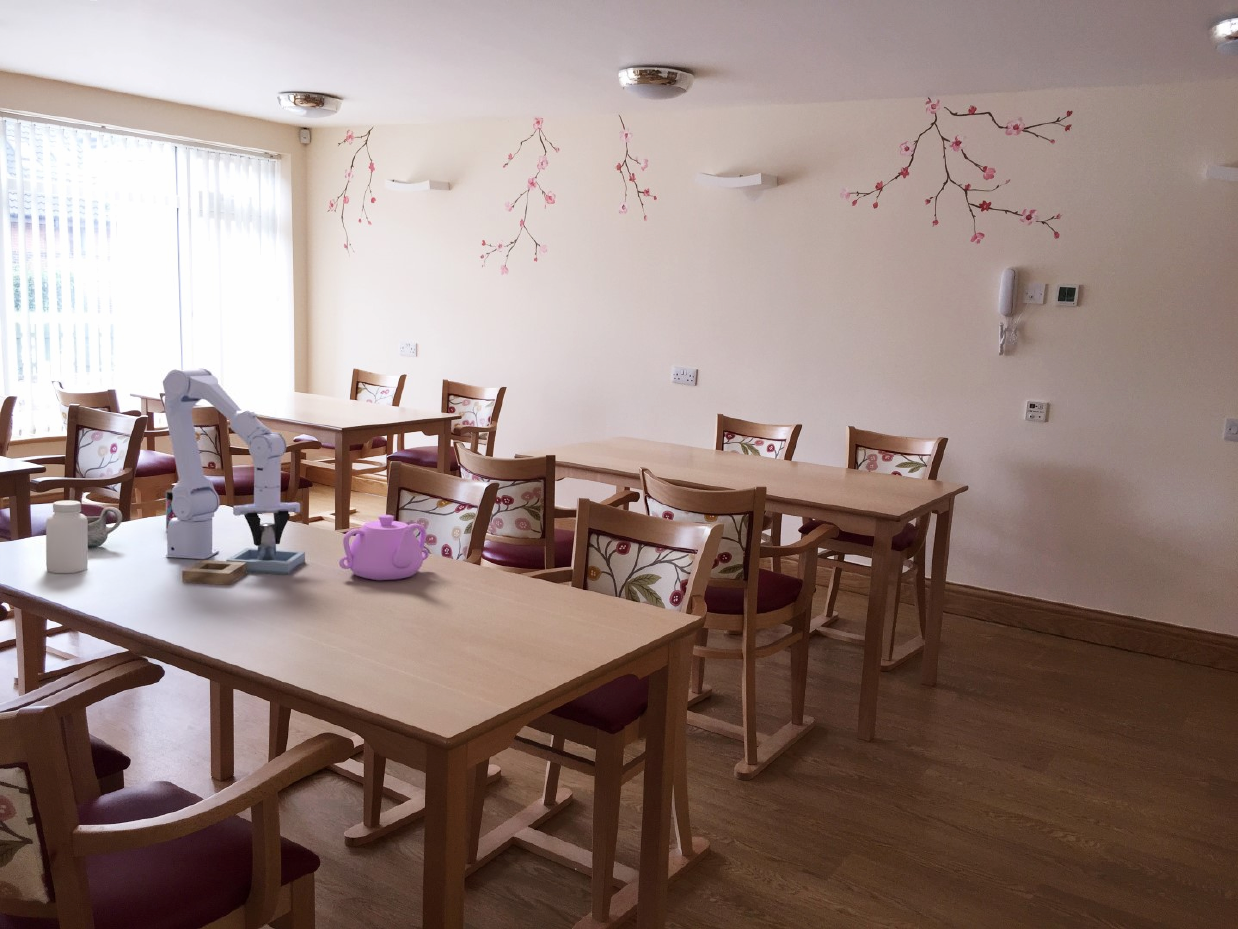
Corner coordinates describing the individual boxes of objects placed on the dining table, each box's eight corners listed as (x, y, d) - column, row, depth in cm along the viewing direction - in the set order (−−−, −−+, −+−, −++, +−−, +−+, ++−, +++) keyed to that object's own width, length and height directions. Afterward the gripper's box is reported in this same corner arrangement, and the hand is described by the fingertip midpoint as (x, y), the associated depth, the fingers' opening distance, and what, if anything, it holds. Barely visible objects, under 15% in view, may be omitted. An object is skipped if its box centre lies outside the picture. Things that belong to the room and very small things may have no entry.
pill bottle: (86, 573, 217) (85, 505, 215) (43, 575, 214) (42, 506, 212) (90, 564, 225) (89, 498, 222) (49, 565, 222) (48, 499, 219)
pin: (254, 560, 230) (255, 525, 229) (261, 556, 234) (261, 522, 233) (272, 561, 230) (272, 527, 229) (278, 557, 234) (279, 523, 233)
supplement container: (172, 526, 266) (172, 487, 265) (198, 528, 266) (198, 489, 265) (161, 531, 260) (161, 492, 258) (187, 533, 260) (187, 493, 258)
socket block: (182, 582, 215) (182, 570, 215) (202, 570, 225) (202, 559, 225) (228, 584, 215) (228, 573, 215) (246, 573, 225) (246, 562, 225)
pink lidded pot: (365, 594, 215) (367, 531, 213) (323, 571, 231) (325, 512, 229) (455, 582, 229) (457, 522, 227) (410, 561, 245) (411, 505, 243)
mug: (64, 544, 241) (64, 503, 239) (123, 542, 246) (122, 502, 245) (61, 553, 232) (61, 511, 231) (122, 551, 238) (121, 510, 236)
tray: (226, 570, 226) (226, 560, 226) (246, 558, 238) (246, 548, 238) (287, 574, 226) (288, 563, 226) (304, 562, 238) (305, 551, 238)
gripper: (238, 490, 222) (238, 550, 224) (304, 487, 230) (303, 545, 232) (231, 485, 228) (230, 543, 230) (295, 482, 236) (294, 538, 238)
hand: (266, 544), depth 231 cm, fingers closed on pin, 4 cm apart
